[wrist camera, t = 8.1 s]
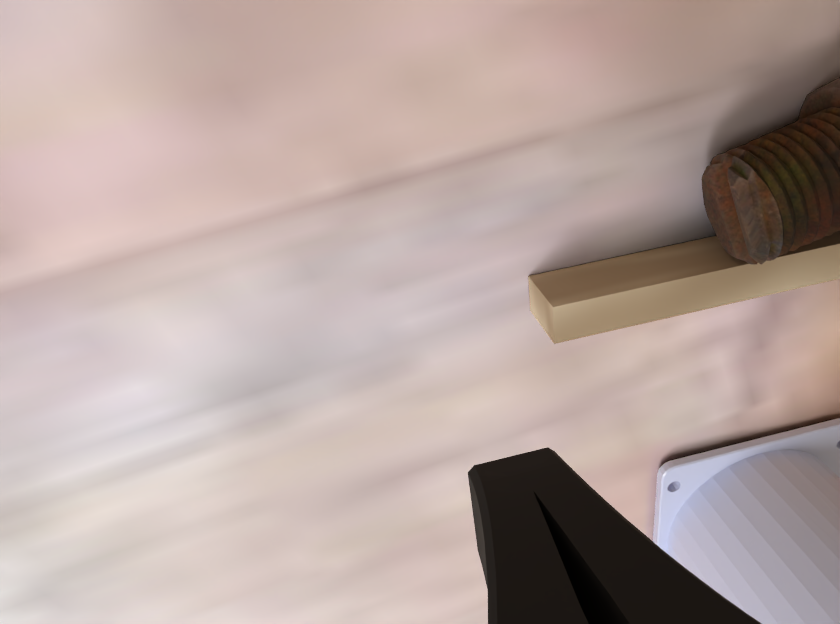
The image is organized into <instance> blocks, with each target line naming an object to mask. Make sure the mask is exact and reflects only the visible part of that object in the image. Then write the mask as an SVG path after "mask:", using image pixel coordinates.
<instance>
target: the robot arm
mask: <svg viewBox="0 0 840 624" xmlns="http://www.w3.org/2000/svg"><path fill="white" fill-rule="evenodd" d="M468 477H469V485H470V493H471V501H472V508H473V516H474V524H475V531H476V539H477V547H478V552H479V556H480V559H481V563H482V567H483V571H484V575H485V580H486V584H487V588H488V624H840V418H837V419H833V420H829V421H825V422H821V423H818V424H814V425H810V426H806V427H802V428H798V429H794V430H790V431H786V432H782V433H778V434H774V435H770V436H766V437H762V438H758V439H754V440H750V441H746V442H742V443H738V444H734V445H730V446H726V447H722V448H718V449H715V450H711V451H707V452H703V453H699V454H695V455H691V456H687V457H683V458H679V459H675V460H671V461H668V462H666V463H664V464H663V465H662V466H661V467H660V468H659V470H658V474H657V488H656V503H655V518H654V532H653V541H651V540H650V539H649V538H648V537H647V536H646V535H644V534H643V533H642V532H641V531H640V530H638V529H637V528H636V527H635V526H634V525H633V524H631V523H630V522H629V521H628V520H627V519H625V518H624V517H623V516H622V515H621V514H620V513H619V512H618V511H616V510H615V509H614V508H613V507H612V506H611V505H610V504H609V503H608V502H606V501H605V500H604V499H603V498H602V497H601V496H600V495H599V494H598V493H597V492H596V491H595V490H593V489H592V488H591V487H590V486H589V485H588V484H587V483H586V482H585V481H584V480H583V479H582V478H581V477H580V476H579V475H578V474H577V473H576V472H575V471H574V470H573V469H572V468H571V467H569V466H568V465H567V464H566V463H565V462H564V461H563V460H562V459H561V458H560V457H559V456H558V454H557V453H556V452H554V451H553V450H551V449H550V448H544V449H540V450H536V451H532V452H527V453H523V454H519V455H515V456H511V457H507V458H503V459H499V460H495V461H491V462H487V463H483V464H478V465H474V466H473V467H472V469H471V470H470V471H469V472H468Z"/></svg>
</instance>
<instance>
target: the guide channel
mask: <svg viewBox="0 0 840 624" xmlns="http://www.w3.org/2000/svg"><path fill="white" fill-rule="evenodd" d="M836 279H840V230H839V231H836V232H834V233H833V234H832V235H830V236H824V237H823V239H820V240H816V241H812V242H811V244H808V245H804V246H800V247H799V248H798V249H796V250H795V251H788V253H787V254H784V255H781V256H778V257H777V258H776V259H774V260H771V261H765V262H764V263H763V264H762V265H761V264H759V263H757V264H749V263H747V262H745V261H743V260H740V259H737V258H735V257H733V256H732V255H730V254H729V253H727V252H726V251H725V249H724V248H723V246H722V244H721V243H720V241H719V239H718V237H717V236H713V237H708V238H703V239H699V240H694V241H689V242H685V243H680V244H675V245H671V246H666V247H662V248H657V249H652V250H648V251H643V252H638V253H634V254H629V255H624V256H620V257H615V258H610V259H606V260H601V261H596V262H592V263H587V264H583V265H578V266H573V267H569V268H564V269H559V270H555V271H550V272H545V273H541V274H536V275H531V276H528V280H529V298H530V311H531V312H532V314H533V315H534V316H535V318H536V319H537V321H538V322H539V323H540V325H541V326H542V327H543V329H544V330H545V332H546V333H547V334H548V336H549V337H550V338H551V340H552V341H553V343H554V344H555V343H560V342H564V341H569V340H573V339H577V338H582V337H586V336H591V335H595V334H599V333H604V332H608V331H612V330H617V329H621V328H626V327H630V326H634V325H639V324H643V323H648V322H652V321H656V320H661V319H665V318H670V317H674V316H678V315H683V314H687V313H692V312H696V311H700V310H705V309H709V308H714V307H718V306H722V305H727V304H731V303H735V302H740V301H744V300H749V299H753V298H757V297H762V296H766V295H771V294H775V293H779V292H784V291H788V290H793V289H797V288H801V287H806V286H810V285H815V284H819V283H823V282H828V281H832V280H836Z"/></svg>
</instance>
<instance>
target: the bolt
mask: <svg viewBox="0 0 840 624" xmlns="http://www.w3.org/2000/svg"><path fill="white" fill-rule="evenodd" d="M702 190H703V198H704V205H705V208H706V212H707V216H708V218H709V220H710V222H711V224H712V227H713V229H714V231H715V233H716V235H717V237H718V239H719V241H720V243H721V244H722V246H723V248H724V249H725V251H726V252H727V253H729V254H730V255H732V256H733V257H735V258H737V259H740V260H743V261H745V262H747V263H749V264H757V263H759V264H761V265H762V264H763V263H764V262H765V261H771V260H774V259H776V258H777V257H778V256H781V255H784V254H787V253H788V251H795V250H796V249H798V248H799V247H800V246H804V245H808V244H811V242H812V241H816V240H820V239H823V237H824V236H830V235H832V234H833V233H834V232H836V231H839V230H840V78H838V79H836V80H834V81H832V82H830V83H828V84H826V85H824V86H823V87H821V88H819V89H817V90H815V91H813V92H812V93H810V94H808V95H807V96H806V98H805V101H804V103H803V105H802V108H801V111H800V115H799V119H798V121H797V122H795V123H792V124H789V125H787V126H785V127H784V128H781V129H778V130H775V131H773V132H772V133H769V134H766V135H764V136H761V137H760V138H759V139H755V140H753V141H750V142H749V143H748V144H746V145H742V146H739V147H737V148H736V149H735V148H734V149H731V150H728V151H727V152H726V153H723V154H720V155H717V156H716V157H714V158H713V159H712V161H711V164H710V166H708V167H707V168H706V170H705V172H704V174H703V176H702Z"/></svg>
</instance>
